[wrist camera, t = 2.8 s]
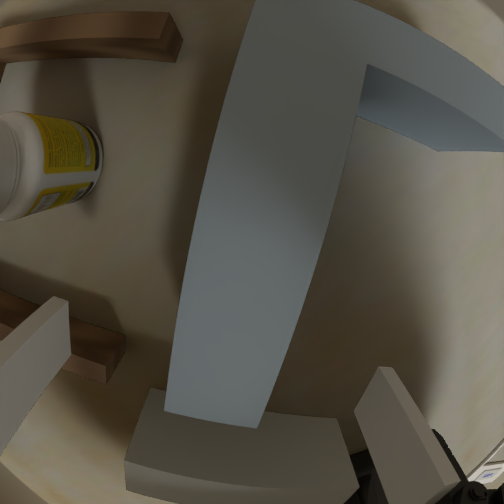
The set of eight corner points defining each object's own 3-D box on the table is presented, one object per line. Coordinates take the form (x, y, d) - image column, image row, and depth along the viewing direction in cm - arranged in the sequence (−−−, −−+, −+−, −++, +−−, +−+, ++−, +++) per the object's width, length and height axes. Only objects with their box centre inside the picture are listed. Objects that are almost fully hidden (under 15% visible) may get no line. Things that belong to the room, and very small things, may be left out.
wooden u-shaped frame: (183, 39, 14) (169, 12, 10) (124, 353, 18) (106, 385, 15) (0, 47, 12) (-28, 36, 9) (-27, 292, 17) (-53, 308, 14)
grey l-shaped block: (366, 362, 19) (406, 432, 12) (188, 331, 18) (164, 410, 11) (444, 115, 15) (523, 103, 8) (256, 44, 14) (264, -26, 7)
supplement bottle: (58, 113, 14) (-42, 95, 6) (117, 137, 15) (21, 121, 7) (32, 185, 15) (-67, 206, 7) (87, 215, 16) (-10, 254, 8)
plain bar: (336, 417, 21) (359, 487, 14) (317, 447, 22) (332, 513, 15) (151, 385, 19) (124, 460, 13) (148, 420, 20) (126, 489, 14)
